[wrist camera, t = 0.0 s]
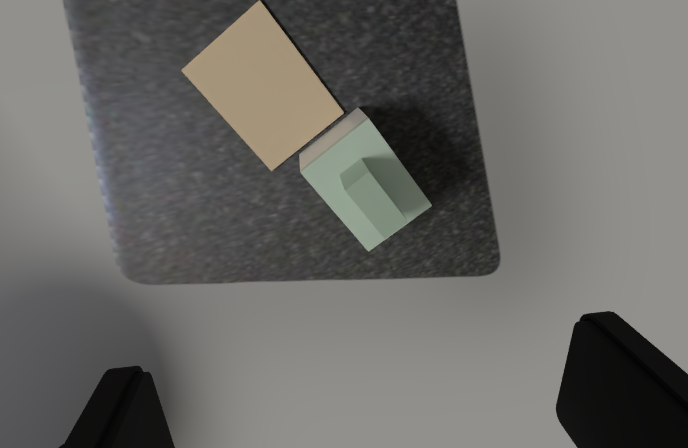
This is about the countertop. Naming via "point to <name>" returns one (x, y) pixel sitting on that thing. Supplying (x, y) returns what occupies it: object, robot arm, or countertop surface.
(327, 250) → the countertop surface
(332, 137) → the tub
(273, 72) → the mat
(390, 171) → the lid
